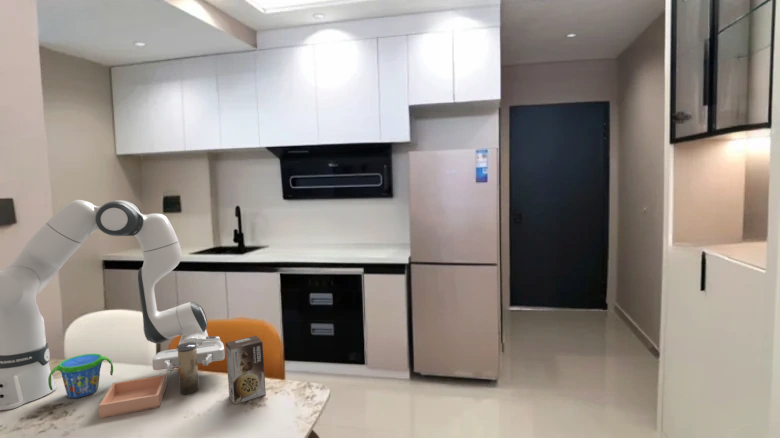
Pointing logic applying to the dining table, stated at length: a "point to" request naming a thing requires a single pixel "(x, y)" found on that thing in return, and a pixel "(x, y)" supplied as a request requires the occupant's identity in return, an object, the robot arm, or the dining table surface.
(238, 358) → the coffee box
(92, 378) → the snack cup
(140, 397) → the terracotta tray
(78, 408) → the dining table surface
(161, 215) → the robot arm
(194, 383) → the bronze tin
